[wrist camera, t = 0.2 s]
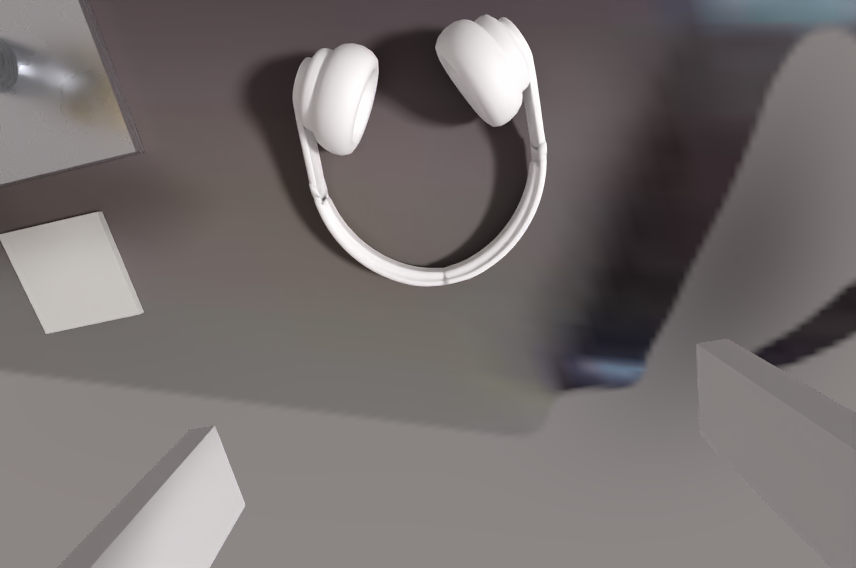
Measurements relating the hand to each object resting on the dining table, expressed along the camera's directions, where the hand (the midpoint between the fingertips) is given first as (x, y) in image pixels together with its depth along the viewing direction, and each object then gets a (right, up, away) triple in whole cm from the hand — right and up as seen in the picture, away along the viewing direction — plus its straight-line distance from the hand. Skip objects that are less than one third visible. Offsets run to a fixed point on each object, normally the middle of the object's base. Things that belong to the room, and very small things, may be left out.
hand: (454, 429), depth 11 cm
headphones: (-1, +14, +26) cm, 29 cm away
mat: (-34, +5, +28) cm, 45 cm away
